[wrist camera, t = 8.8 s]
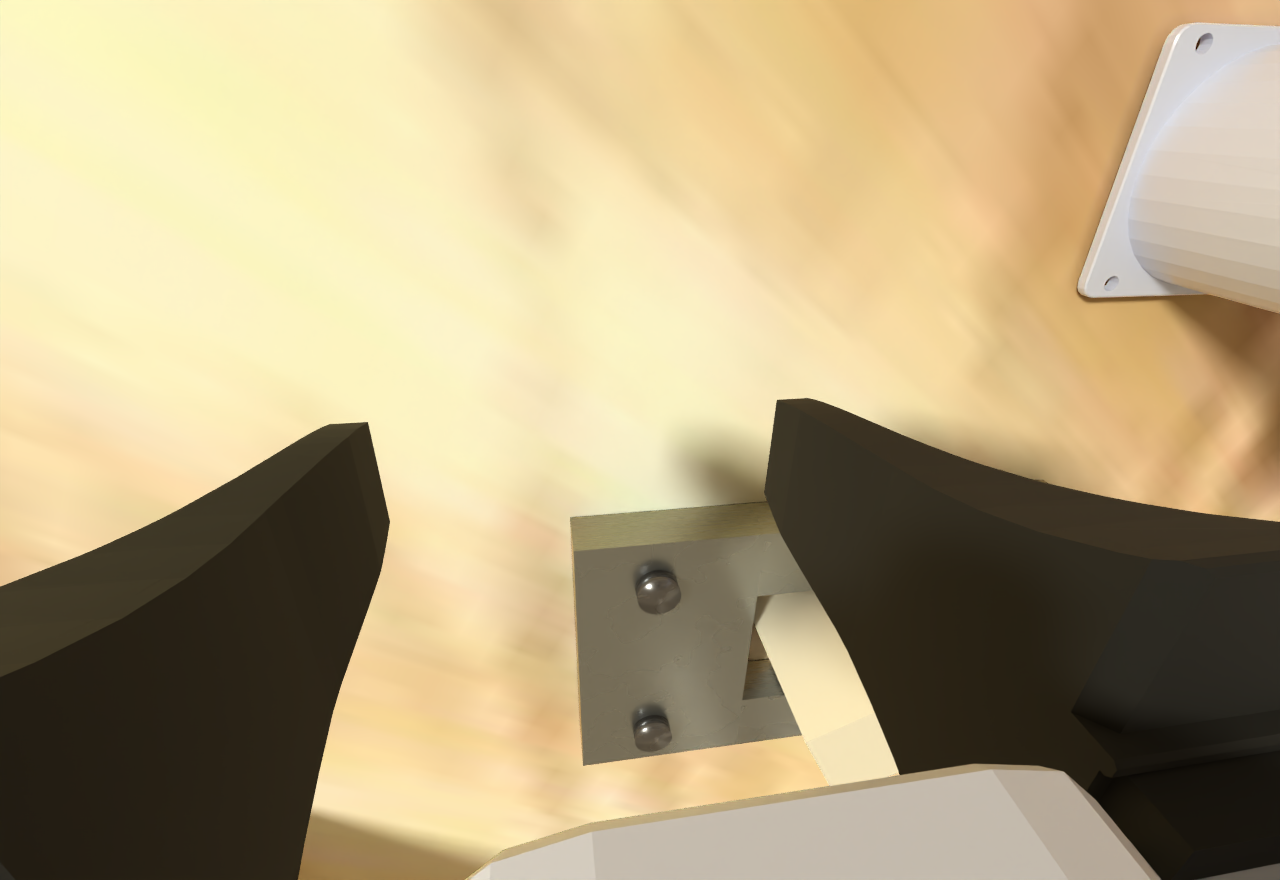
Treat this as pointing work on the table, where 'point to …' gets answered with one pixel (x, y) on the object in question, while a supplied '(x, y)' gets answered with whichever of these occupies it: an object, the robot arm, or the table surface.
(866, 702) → the cream rectangular block
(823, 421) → the robot arm
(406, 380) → the table surface
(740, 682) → the strike plate
